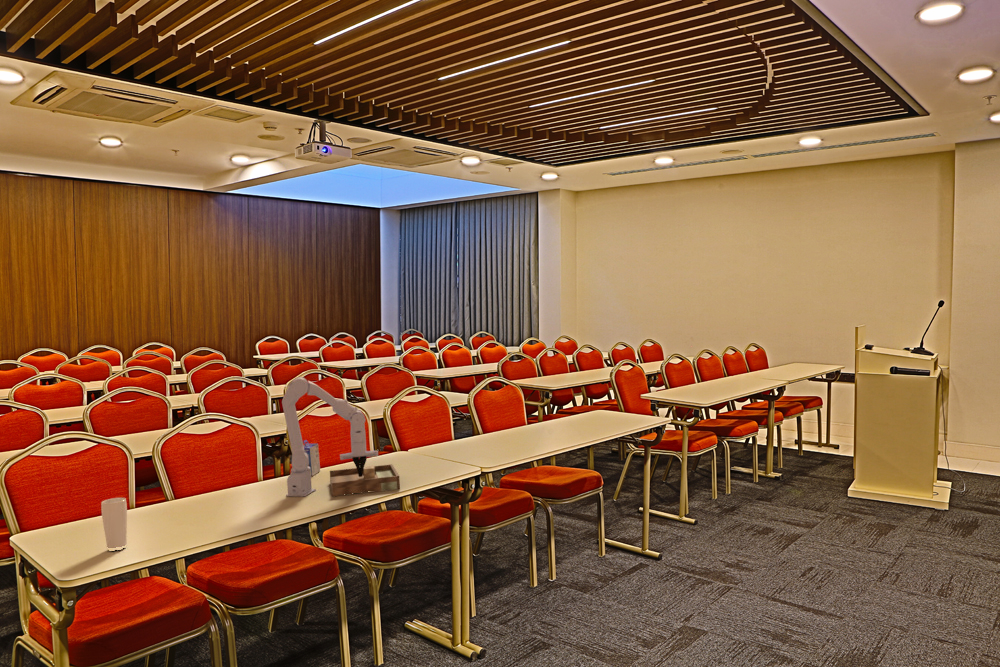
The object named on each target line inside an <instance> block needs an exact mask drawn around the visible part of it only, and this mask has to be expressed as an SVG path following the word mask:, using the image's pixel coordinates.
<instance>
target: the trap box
mask: <svg viewBox="0 0 1000 667" xmlns="http://www.w3.org/2000/svg"><path fill="white" fill-rule="evenodd" d="M374 468H375V478H372V479H364V471H363V473H362V477H359V475H358V470H357V468H356V467H355V468H354V467H353V468H344V469H336V470H329V479H330V480H329V483H330V488H331V493H332V494H333V495H332V494H331V495H332V497H333V496H334V497H339V496H338V495H343V496H345V495H344V494H351V495H353V494H352V493H360V494H362V493H361V492H368V491H378V492H383V491H382V490H386V491H395V490H400V489H401V484H400V483H401V482H400V475H399V473H398V471H397V470H396V468H395V466H394V465H393V463H391V464H382V465H381V464H380V465H374Z"/></svg>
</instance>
